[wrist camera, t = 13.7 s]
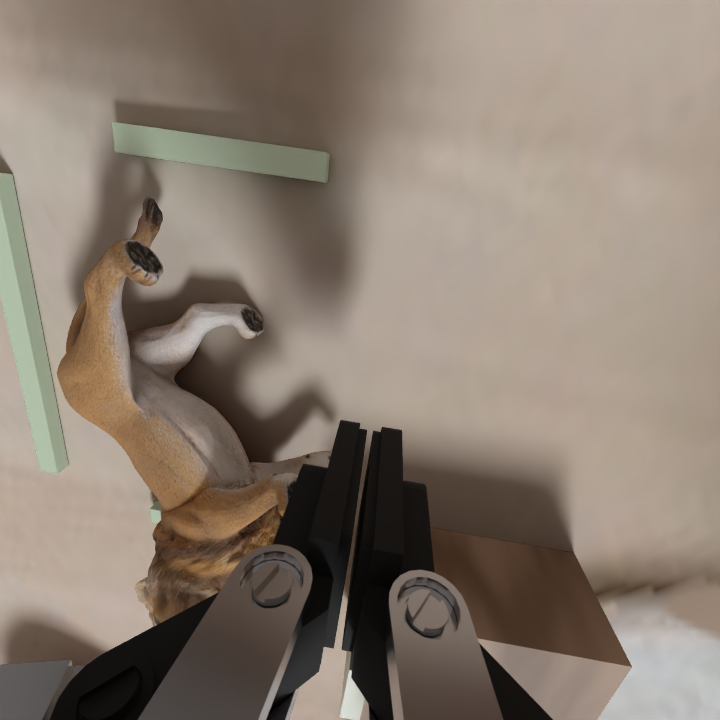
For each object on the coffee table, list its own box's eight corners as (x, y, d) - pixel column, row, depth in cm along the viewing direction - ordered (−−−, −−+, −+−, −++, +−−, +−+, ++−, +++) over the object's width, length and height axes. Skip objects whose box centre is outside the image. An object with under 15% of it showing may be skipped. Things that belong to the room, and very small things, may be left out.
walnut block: (632, 666, 12) (360, 616, 13) (568, 761, 15) (339, 717, 15) (573, 551, 17) (369, 516, 17) (531, 639, 19) (352, 606, 19)
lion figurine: (338, 685, 10) (127, 704, 13) (393, 551, 15) (228, 590, 18) (80, 162, 10) (-66, 321, 13) (223, 204, 14) (89, 311, 18)
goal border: (330, 154, 12) (327, 151, 11) (294, 537, 18) (291, 547, 17) (-25, 104, 12) (-46, 99, 12) (58, 494, 18) (48, 504, 18)
